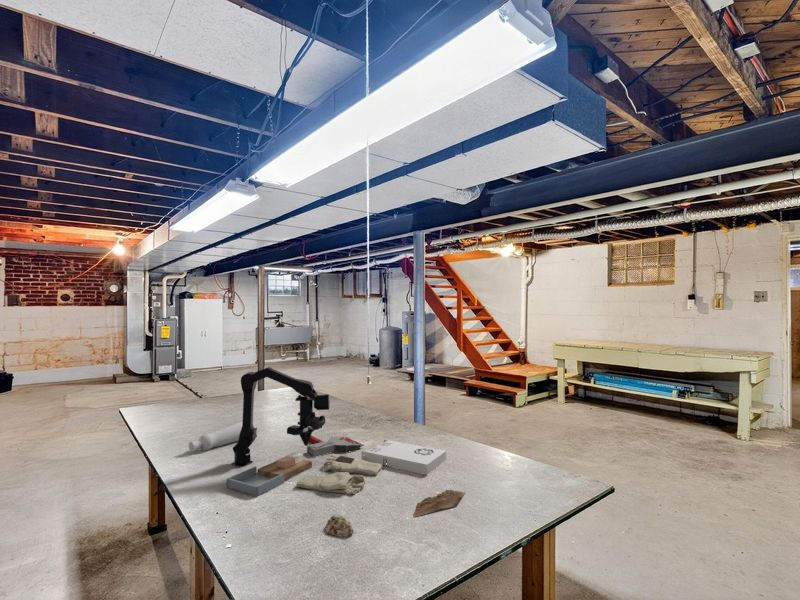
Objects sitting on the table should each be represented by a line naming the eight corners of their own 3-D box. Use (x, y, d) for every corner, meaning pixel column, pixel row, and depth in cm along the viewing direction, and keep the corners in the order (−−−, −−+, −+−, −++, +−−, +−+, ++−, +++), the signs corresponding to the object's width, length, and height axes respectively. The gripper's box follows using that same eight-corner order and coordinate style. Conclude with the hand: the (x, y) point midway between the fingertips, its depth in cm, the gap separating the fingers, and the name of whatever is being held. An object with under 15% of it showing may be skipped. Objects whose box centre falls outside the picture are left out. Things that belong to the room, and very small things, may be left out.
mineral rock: (317, 521, 125) (338, 506, 130) (320, 534, 126) (341, 518, 131) (338, 537, 117) (359, 519, 122) (341, 550, 118) (362, 532, 123)
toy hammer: (332, 427, 221) (363, 441, 198) (332, 434, 221) (363, 449, 197) (291, 436, 206) (319, 452, 183) (291, 444, 206) (319, 460, 182)
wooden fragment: (453, 488, 153) (453, 485, 153) (476, 499, 144) (476, 496, 145) (400, 510, 137) (400, 507, 137) (422, 523, 128) (422, 520, 128)
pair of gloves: (333, 461, 181) (333, 449, 182) (385, 469, 172) (385, 457, 172) (292, 489, 153) (292, 475, 153) (352, 500, 144) (352, 485, 144)
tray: (226, 488, 154) (226, 478, 154) (255, 475, 166) (255, 466, 166) (256, 497, 146) (256, 487, 146) (284, 482, 158) (284, 473, 158)
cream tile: (286, 461, 174) (286, 455, 174) (294, 458, 178) (294, 452, 178) (294, 463, 171) (294, 457, 171) (303, 459, 176) (303, 454, 176)
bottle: (239, 429, 219) (184, 447, 194) (245, 416, 216) (189, 432, 191) (248, 441, 215) (193, 460, 190) (254, 428, 212) (198, 446, 187)
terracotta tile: (276, 466, 169) (276, 460, 169) (285, 462, 173) (285, 456, 173) (285, 468, 166) (285, 462, 167) (294, 464, 171) (294, 458, 171)
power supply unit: (384, 449, 198) (384, 439, 198) (446, 462, 181) (446, 450, 181) (361, 462, 181) (361, 450, 181) (427, 477, 165) (427, 464, 165)
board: (257, 475, 166) (257, 469, 166) (287, 461, 181) (287, 455, 181) (282, 482, 159) (282, 475, 159) (311, 467, 174) (311, 461, 174)
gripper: (305, 417, 170) (305, 455, 169) (333, 407, 186) (333, 442, 186) (286, 414, 175) (285, 450, 175) (314, 405, 191) (314, 438, 191)
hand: (306, 445), depth 181 cm, fingers closed
